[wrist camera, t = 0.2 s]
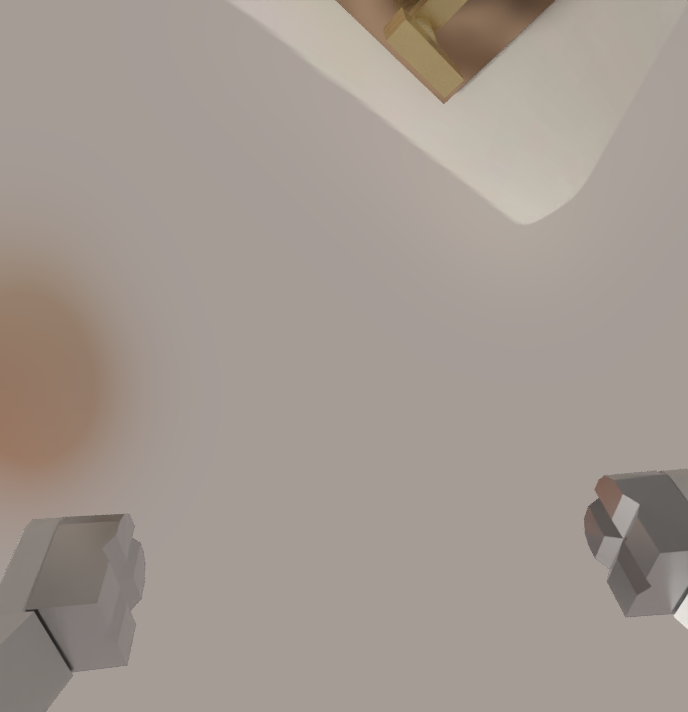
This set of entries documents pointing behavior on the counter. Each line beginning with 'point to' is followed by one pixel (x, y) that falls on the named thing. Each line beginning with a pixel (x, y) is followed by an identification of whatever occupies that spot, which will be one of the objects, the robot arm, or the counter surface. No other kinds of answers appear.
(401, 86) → the counter surface
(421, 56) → the t key
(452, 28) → the base
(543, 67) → the counter surface
